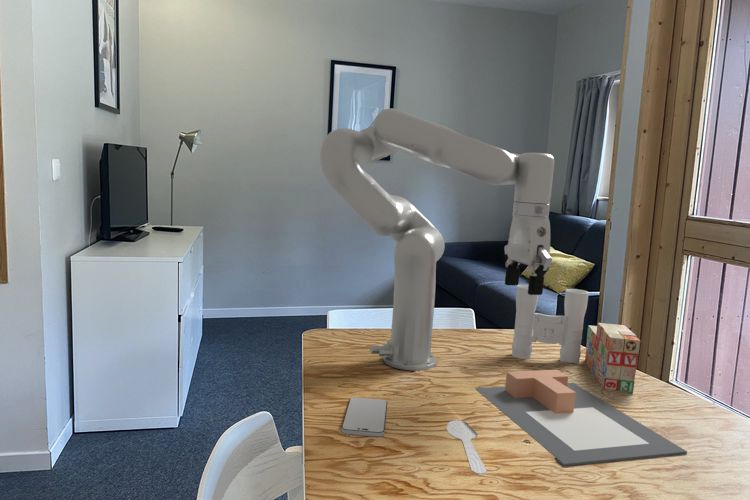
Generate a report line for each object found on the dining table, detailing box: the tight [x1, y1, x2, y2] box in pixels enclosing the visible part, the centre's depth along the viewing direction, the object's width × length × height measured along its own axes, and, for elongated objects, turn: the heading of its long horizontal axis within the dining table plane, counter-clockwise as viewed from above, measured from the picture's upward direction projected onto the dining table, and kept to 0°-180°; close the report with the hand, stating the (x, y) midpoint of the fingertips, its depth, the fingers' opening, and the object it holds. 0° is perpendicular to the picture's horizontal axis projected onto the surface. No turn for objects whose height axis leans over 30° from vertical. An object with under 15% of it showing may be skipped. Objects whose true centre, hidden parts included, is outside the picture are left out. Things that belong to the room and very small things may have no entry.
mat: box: [474, 382, 688, 467], centre depth 104 cm, size 24×31×1 cm
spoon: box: [446, 419, 488, 475], centre depth 91 cm, size 5×18×1 cm, turn 3°
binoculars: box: [511, 284, 590, 365], centre depth 138 cm, size 17×5×18 cm, turn 80°
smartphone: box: [341, 396, 388, 438], centre depth 99 cm, size 7×1×15 cm
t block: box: [505, 369, 576, 414], centre depth 111 cm, size 12×12×4 cm
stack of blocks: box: [584, 322, 641, 395], centre depth 129 cm, size 21×6×12 cm, turn 170°
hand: (522, 289), depth 121 cm, fingers open, 9 cm apart
